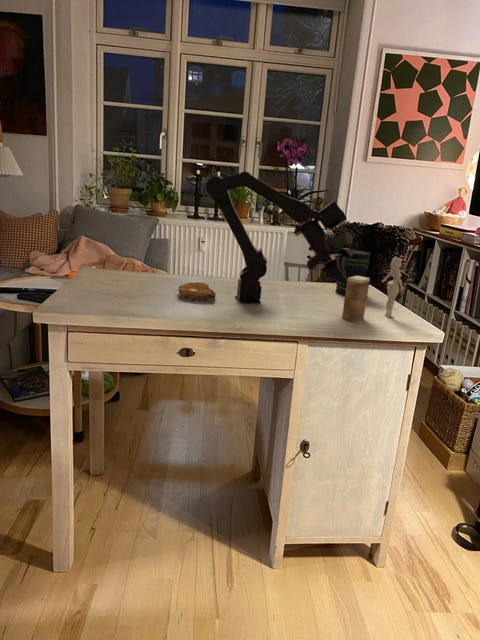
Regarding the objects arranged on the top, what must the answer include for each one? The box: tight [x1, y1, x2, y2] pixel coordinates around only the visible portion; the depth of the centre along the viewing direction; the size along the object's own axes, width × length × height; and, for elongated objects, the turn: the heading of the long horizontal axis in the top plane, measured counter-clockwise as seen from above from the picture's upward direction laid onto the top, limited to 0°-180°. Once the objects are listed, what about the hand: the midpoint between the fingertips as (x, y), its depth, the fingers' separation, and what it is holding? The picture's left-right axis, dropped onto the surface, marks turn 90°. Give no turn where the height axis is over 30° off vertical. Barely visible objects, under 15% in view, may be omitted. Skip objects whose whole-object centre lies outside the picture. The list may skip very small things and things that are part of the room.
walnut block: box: [341, 276, 371, 323], centre depth 144 cm, size 4×6×12 cm, turn 142°
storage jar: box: [335, 248, 371, 297], centre depth 175 cm, size 10×10×15 cm
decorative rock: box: [178, 281, 217, 303], centre depth 154 cm, size 11×4×15 cm
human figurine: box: [381, 256, 406, 319], centre depth 149 cm, size 12×4×18 cm, turn 12°
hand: (346, 283), depth 145 cm, fingers closed
